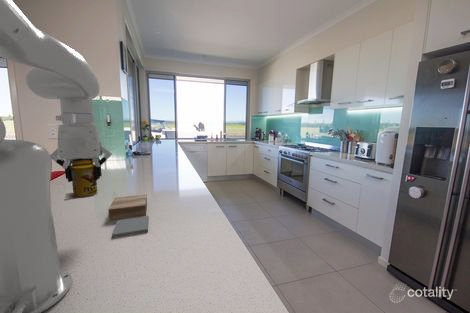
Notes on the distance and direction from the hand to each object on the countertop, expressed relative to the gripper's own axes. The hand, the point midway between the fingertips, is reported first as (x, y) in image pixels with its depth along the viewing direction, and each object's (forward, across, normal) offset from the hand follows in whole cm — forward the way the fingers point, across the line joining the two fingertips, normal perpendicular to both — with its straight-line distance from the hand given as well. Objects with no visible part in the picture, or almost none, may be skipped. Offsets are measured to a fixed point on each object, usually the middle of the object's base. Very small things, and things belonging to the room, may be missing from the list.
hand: (84, 179), depth 64 cm
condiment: (+5, -1, 0) cm, 5 cm away
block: (+17, +10, +13) cm, 24 cm away
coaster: (+17, +12, -1) cm, 21 cm away
